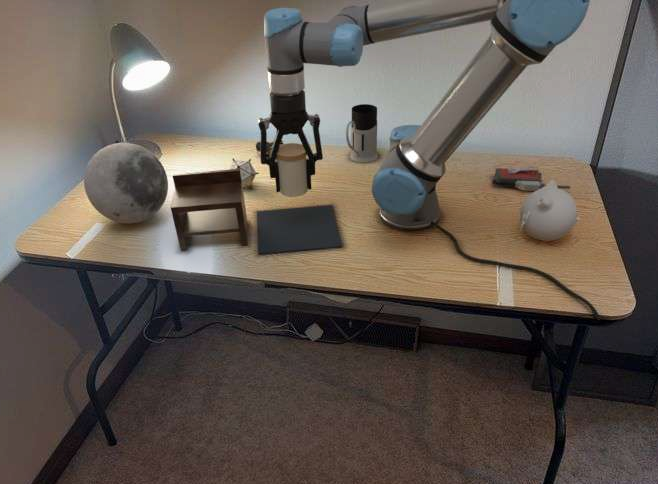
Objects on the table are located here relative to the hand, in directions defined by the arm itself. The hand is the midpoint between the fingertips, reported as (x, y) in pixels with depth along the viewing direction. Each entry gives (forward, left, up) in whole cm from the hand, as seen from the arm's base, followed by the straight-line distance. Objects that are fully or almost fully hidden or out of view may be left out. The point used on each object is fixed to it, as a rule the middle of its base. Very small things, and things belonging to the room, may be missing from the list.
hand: (293, 188), depth 128 cm
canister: (0, 0, -1) cm, 1 cm away
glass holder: (+10, -42, -12) cm, 44 cm away
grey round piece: (-51, -32, -12) cm, 61 cm away
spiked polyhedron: (+27, -9, -12) cm, 31 cm away
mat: (0, 0, -11) cm, 11 cm away
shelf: (+14, +14, -11) cm, 23 cm away
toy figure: (+32, -30, -12) cm, 45 cm away
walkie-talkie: (-38, -55, -12) cm, 67 cm away
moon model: (+38, +20, -12) cm, 45 cm away
